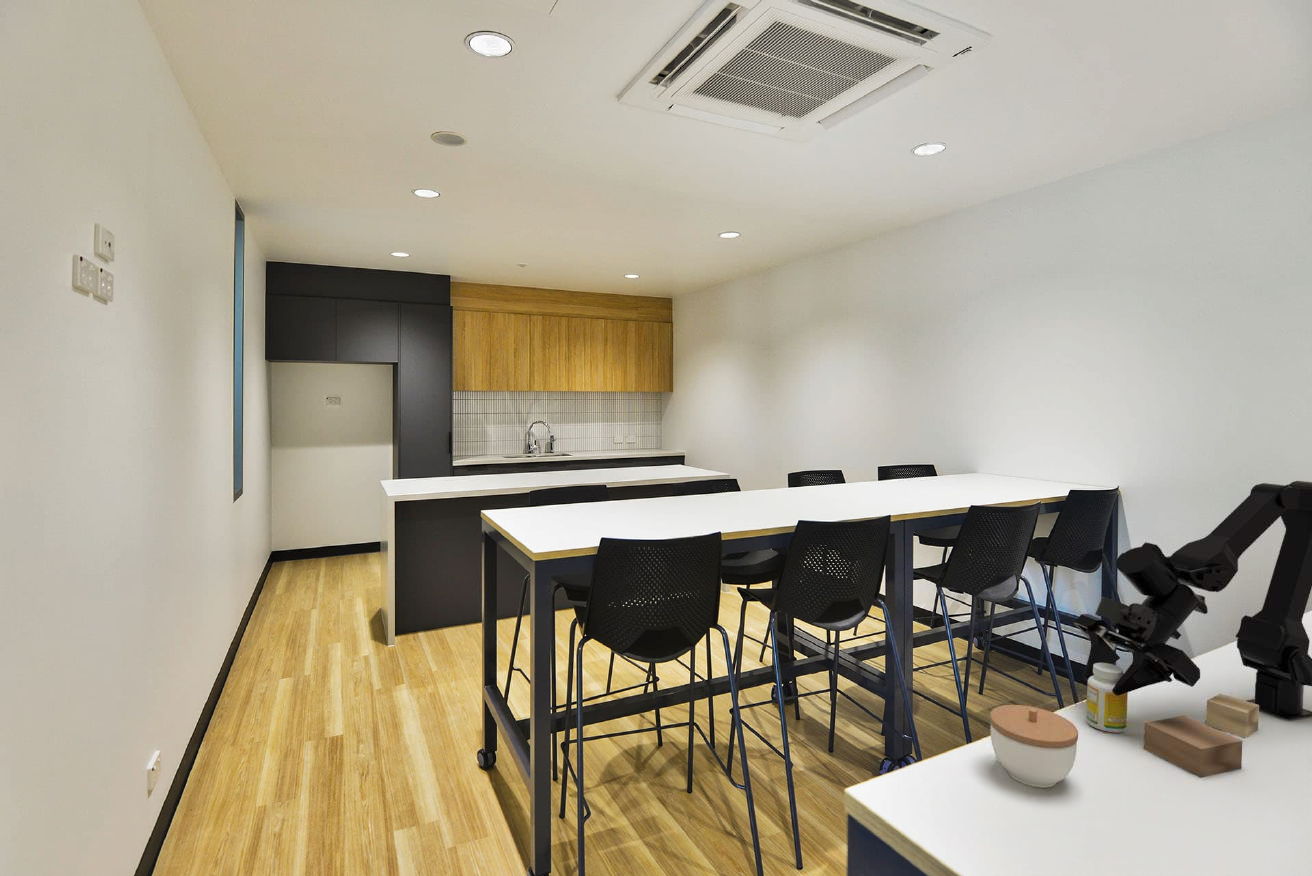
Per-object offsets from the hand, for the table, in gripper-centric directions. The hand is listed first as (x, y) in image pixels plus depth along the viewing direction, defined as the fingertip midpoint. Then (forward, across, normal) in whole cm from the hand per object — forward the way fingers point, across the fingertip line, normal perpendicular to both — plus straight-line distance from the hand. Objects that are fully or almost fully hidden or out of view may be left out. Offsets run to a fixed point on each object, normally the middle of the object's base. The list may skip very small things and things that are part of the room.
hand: (1099, 686), depth 106 cm
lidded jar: (+19, +11, -10) cm, 24 cm away
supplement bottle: (+4, 0, +6) cm, 7 cm away
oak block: (-10, +4, +20) cm, 22 cm away
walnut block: (+1, +10, +9) cm, 14 cm away
